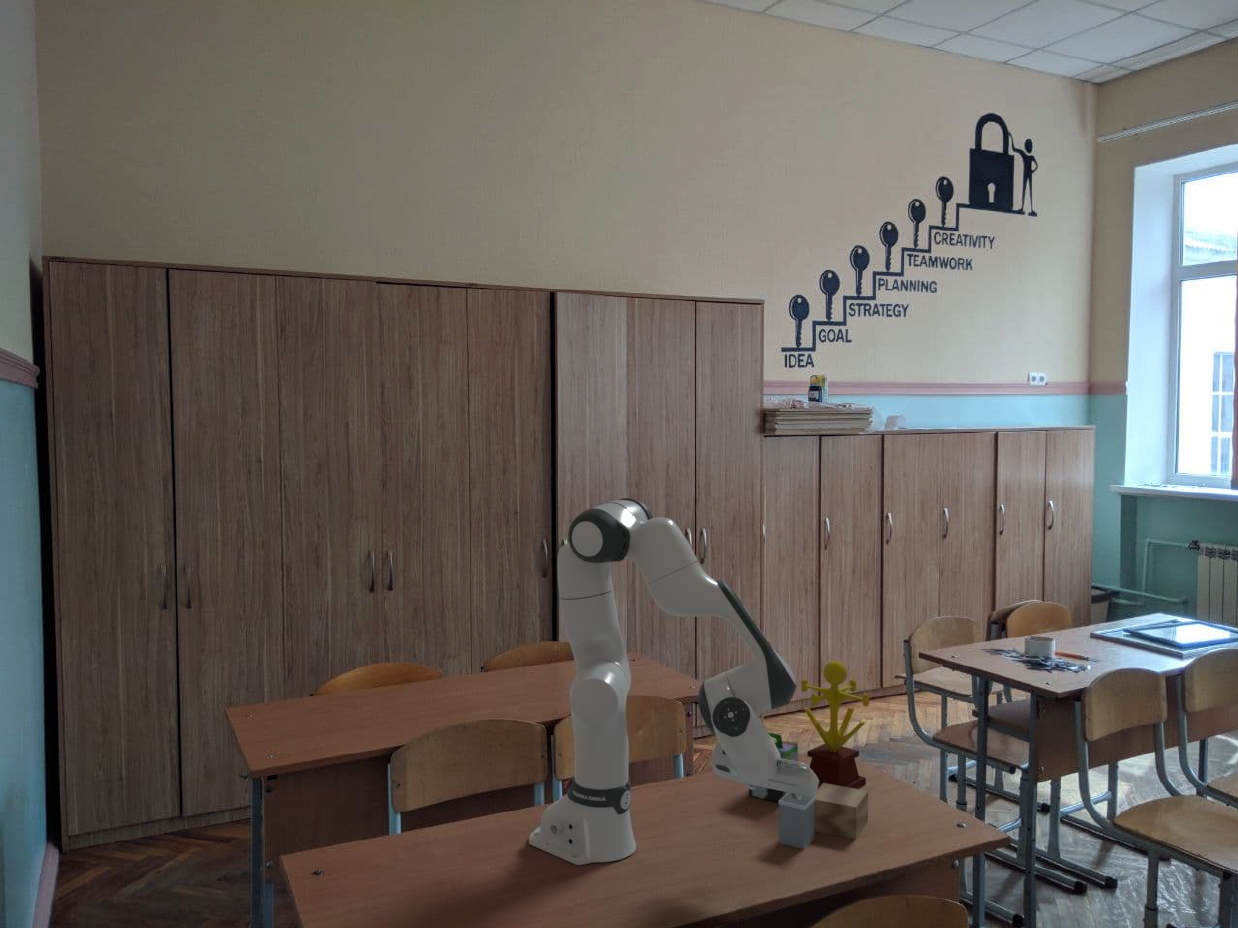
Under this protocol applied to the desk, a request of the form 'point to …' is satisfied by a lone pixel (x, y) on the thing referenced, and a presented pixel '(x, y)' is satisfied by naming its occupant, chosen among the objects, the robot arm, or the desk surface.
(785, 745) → the chalk box
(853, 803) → the walnut box
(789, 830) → the lidded storage box
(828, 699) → the trophy
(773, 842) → the desk surface
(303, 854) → the desk surface
